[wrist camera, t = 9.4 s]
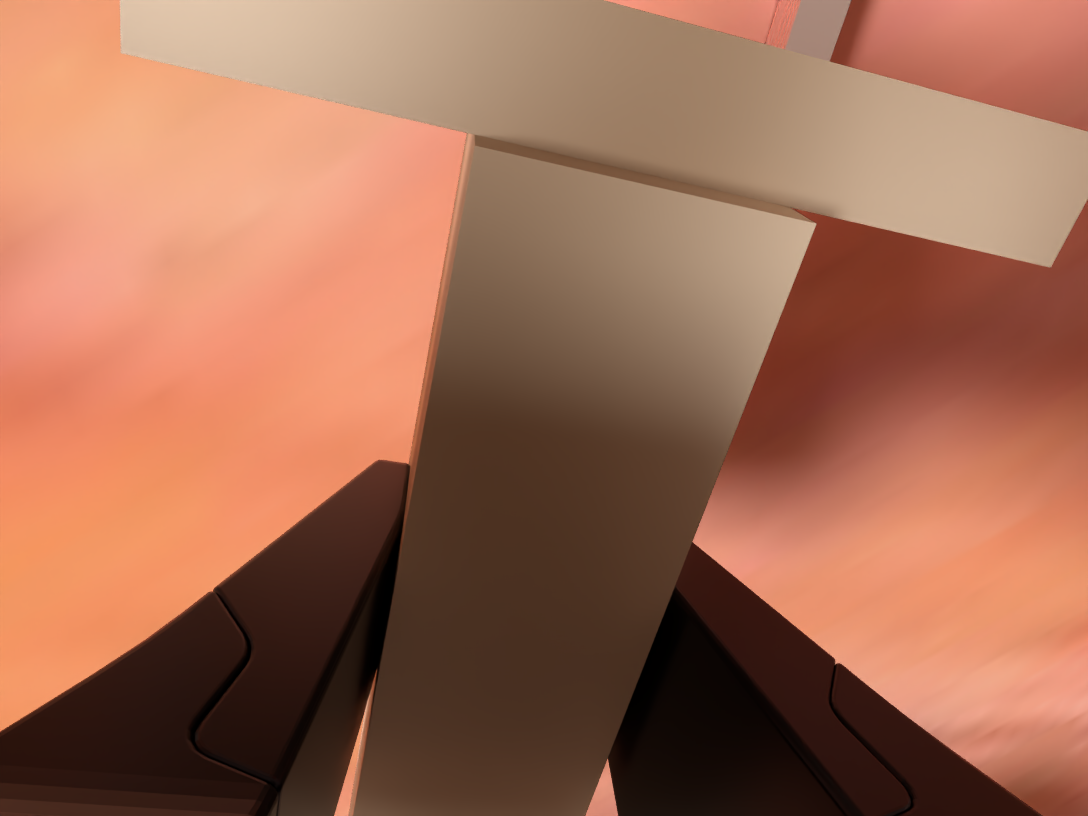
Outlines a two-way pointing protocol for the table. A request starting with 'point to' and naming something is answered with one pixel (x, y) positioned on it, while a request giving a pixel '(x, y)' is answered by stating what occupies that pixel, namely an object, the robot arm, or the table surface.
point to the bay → (808, 26)
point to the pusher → (597, 327)
